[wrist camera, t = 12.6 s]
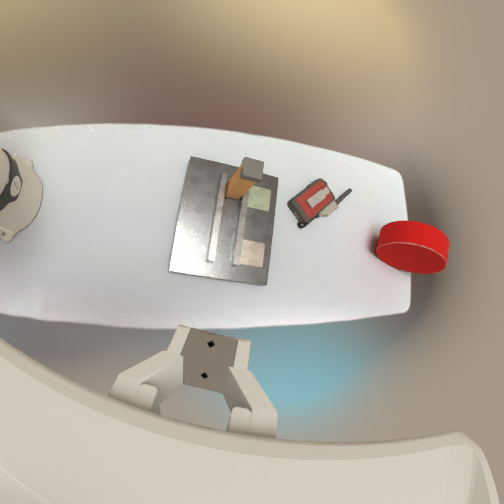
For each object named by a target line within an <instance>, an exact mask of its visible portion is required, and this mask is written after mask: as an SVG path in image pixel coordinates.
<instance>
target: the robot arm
mask: <svg viewBox="0 0 504 504" xmlns="http://www.w3.org/2000/svg"><path fill="white" fill-rule="evenodd" d="M41 200H42V184H41V181H40V178H39V177H38V175H37V174H36V173H35V171H34V168H33V163H32V160H30V159H29V158H26V159H22V158H21V157H20V156H18V155H17V154H15V153H14V154H13V155H11V154H10V153H9V152H7V151H5V150H4V149H1V148H0V239H2V240H3V241H5V242H10V241H11V240H12V239H13V237H14V236H15V235H16V233H17V232H19V231H20V230H22V229H24V228H25V227H26V226H27V225H29V224H30V222H31V221H32V220H33V219H34V217H35V216H36V214H37V212H38V210H39V207H40V204H41ZM4 233H5V235H4V236H3V234H4ZM250 345H251V341H249V340H244V339H238V338H234V337H228V336H224V335H219V334H214V333H210V332H206V331H202V330H198V329H195V328H190V327H186V326H183V325H179V326H178V327H177V329H176V331H175V334H174V336H173V338H172V340H171V343H170V345H169V347H168V349H167V351H161V352H159V353H157V354H156V355H154V356H152V357H150V358H148V359H146V360H144V361H143V362H141V363H139V364H137V365H135V366H133V367H132V368H129V369H127V370H126V371H124V372H122V373H120V374H119V375H118V377H117V379H116V381H115V383H114V385H113V386H112V388H111V390H110V392H109V394H108V396H106V395H103V394H101V393H99V392H97V391H94V390H92V389H90V388H87V387H85V386H83V385H81V384H79V383H77V382H75V381H73V380H70V379H69V378H67V377H65V376H62V375H61V374H59V373H57V372H55V371H53V370H51V369H49V368H48V367H46V366H44V365H42V364H40V363H39V362H37V361H35V360H34V359H32V358H30V357H29V356H27V355H25V354H24V353H22V352H20V351H19V350H17V349H15V348H14V347H13V346H11V345H10V344H8V343H7V342H5V341H4V340H2V339H1V338H0V504H499V499H498V495H497V491H496V487H495V484H494V480H493V477H492V474H491V471H490V468H489V465H488V462H487V460H486V458H485V456H484V453H483V452H482V450H481V448H480V447H479V446H478V445H476V444H475V443H474V442H473V441H472V440H471V439H469V438H468V437H467V436H466V435H464V434H463V433H462V432H460V431H449V432H445V433H440V434H434V435H428V436H421V437H414V438H406V439H397V440H386V441H371V442H312V441H296V440H284V439H276V431H277V411H276V410H275V408H274V407H273V405H272V404H271V402H270V401H269V399H268V398H267V396H266V394H265V393H264V391H263V390H262V388H261V387H260V385H259V384H258V382H257V380H256V379H255V377H254V376H253V374H252V372H251V371H249V370H247V366H248V359H249V352H250ZM183 384H186V385H190V386H194V387H199V388H203V389H207V390H211V391H215V392H219V393H223V395H224V398H225V400H226V402H227V405H228V407H229V409H230V411H231V416H230V419H229V423H228V426H227V430H226V431H222V430H217V429H212V428H208V427H204V426H199V425H195V424H191V423H187V422H183V421H179V420H176V419H172V418H169V417H165V416H162V415H161V414H160V407H159V403H160V402H161V401H163V400H164V399H165V398H167V397H168V396H169V395H171V394H172V393H173V392H175V391H176V390H177V389H178V388H180V387H181V386H182V385H183Z"/></svg>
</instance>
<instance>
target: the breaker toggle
mask: <svg viewBox="0 0 504 504" xmlns="http://www.w3.org/2000/svg"><path fill="white" fill-rule="evenodd" d="M263 166H264V162H262V161H259V160H255V159H251V158H247V157H245V158H244V159H243V160H242V164H241V165H240V167H239V168H238V169H237V171H236V172H235V173H234V174H233V176H232V177H231V178H230V180H229V181H228V182H227V184H226V191H225V197H229V198H233V199H238V200H239V199H240V198H241V197H242V196H243V195H244V194H245V193H246V192H247V191H248V190H249V189H250V188H251V187H252V186H253V185H254V184H255V183H259V182H260V181H261V180H262V175H263Z"/></svg>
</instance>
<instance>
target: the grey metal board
mask: <svg viewBox="0 0 504 504" xmlns="http://www.w3.org/2000/svg"><path fill="white" fill-rule="evenodd" d="M238 168H239V167H235V166H231V165H227V164H223V163H219V162H214V161H210V160H205V159H201V158H196V157H192V156H191V158H190V161H189V165H188V170H187V174H186V179H185V183H184V188H183V193H182V198H181V203H180V208H179V213H178V219H177V224H176V230H175V235H174V241H173V247H172V254H171V260H170V267H169V271H171V272H177V273H183V274H189V275H196V276H202V277H209V278H216V279H223V280H229V281H236V282H243V283H251V284H258V285H267V279H268V270H269V262H270V253H271V244H272V235H273V225H274V216H275V207H276V197H277V187H278V178H277V177H274V176H270V175H266V174H263V175H262V180H261V181H260V182H259V183H255V184H254V185H253V186H252V187H251V188H250V189H249V190H248V191H247V192H246V193H245V194H244V195H243V196H242V197H241V198H240V199H239V200H238V199H233V198H229V197H225V191H226V184H227V182H228V181H229V180H230V178H231V177H232V176H233V174H234V173H235V172H236V171H237V169H238Z"/></svg>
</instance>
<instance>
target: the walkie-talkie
mask: <svg viewBox="0 0 504 504" xmlns="http://www.w3.org/2000/svg"><path fill="white" fill-rule="evenodd" d="M351 192H352V189H348V190H347V191H346V192H345V193H344V194H342V195H341V196H340V197H339V198H338V199H337V200H335V197H334V195H333V193H332V192H331V190H330V189H329V187H328V186H327V183H326V182H325V181H324V180H322V179H320V178H319V179H318V180H315V181H314V182H313V183H311V184H310V185H308V186H307V188H305V189H304V190H303V191H301V192H300V193H299V194H298V195H296V196H295V197H294V198H292V199H291V200H290V201H289V202H288V205H287V206H288V207H289V209H290V210H291V211H292V213H293V214H294V216H295V217H296V218H297V220H298V221H299V223H298V225H299V227H300V228H303V227H305V226H306V225H307V224H309V223H310V222H311V221H312V220H313V219H314V218H317V217H320V216H324V217H325V216H328V215H330V214H331V213H332V212H333V211H334V210H335V209H337V208H338V206H337V205H338V204H339V203H340V202H341V201H342V200H343V199H344V198H345V197H346V196H347V195H348V194H349V193H351ZM334 200H335V201H334ZM301 224H305V225H303V226H301Z"/></svg>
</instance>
